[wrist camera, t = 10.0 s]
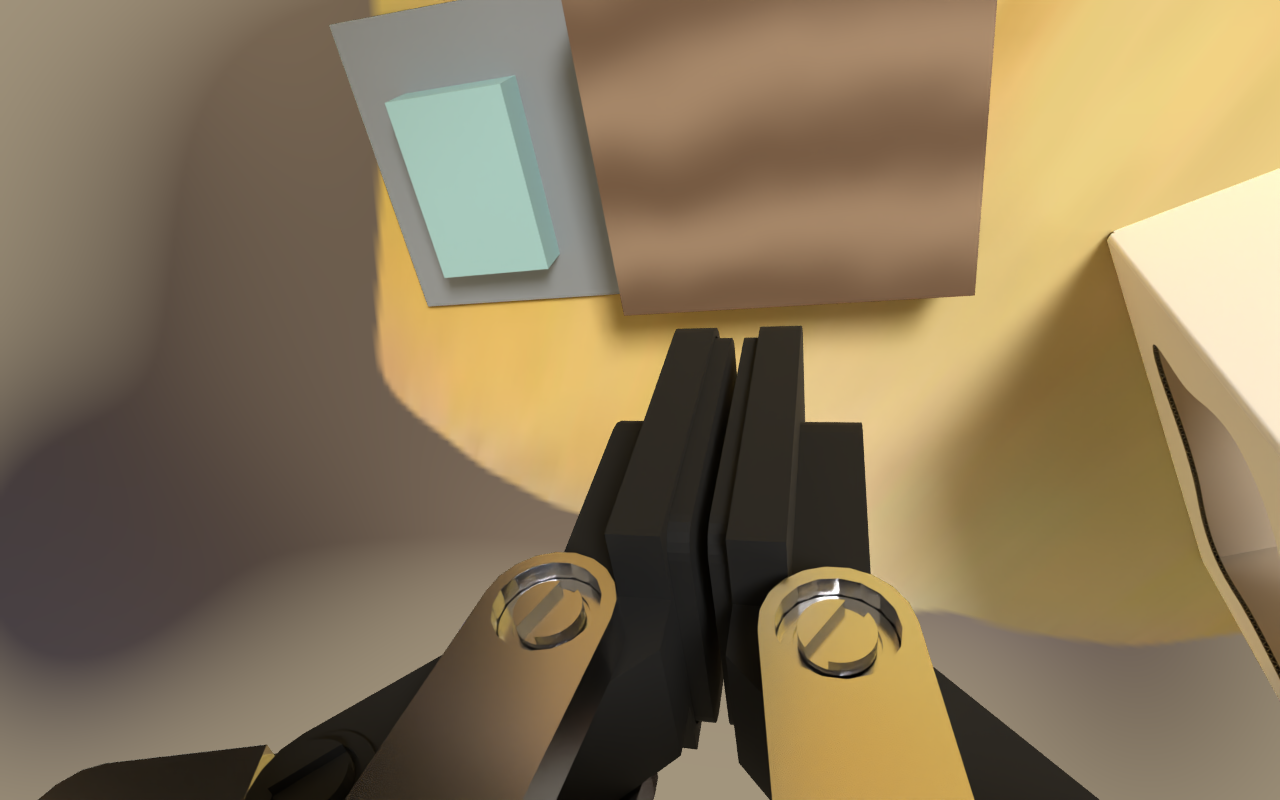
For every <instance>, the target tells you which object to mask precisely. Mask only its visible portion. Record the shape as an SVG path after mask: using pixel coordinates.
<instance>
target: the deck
mask: <svg viewBox="0 0 1280 800" xmlns="http://www.w3.org/2000/svg"><path fill="white" fill-rule="evenodd" d="M561 2H562V7H563V12H564V17H565V22H566V27H567V32H568V37H569V42H570V47H571V52H572V57H573V62H574V67H575V72H576V77H577V82H578V87H579V92H580V97H581V102H582V107H583V112H584V117H585V122H586V127H587V132H588V137H589V142H590V147H591V152H592V157H593V162H594V167H595V172H596V177H597V182H598V187H599V192H600V197H601V202H602V207H603V212H604V217H605V222H606V227H607V232H608V237H609V242H610V247H611V252H612V257H613V262H614V267H615V272H616V277H617V282H618V287H619V292H620V297H621V302H622V307H623V312H624V316H625V315H642V314H659V313H677V312H694V311H712V310H729V309H747V308H764V307H782V306H799V305H816V304H834V303H851V302H869V301H886V300H904V299H921V298H938V297H956V296H973V295H975V284H976V271H977V258H978V245H979V231H980V218H981V205H982V192H983V179H984V166H985V153H986V140H987V127H988V113H989V100H990V87H991V74H992V61H993V48H994V35H995V22H996V8H997V0H561Z"/></svg>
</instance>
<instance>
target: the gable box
mask: <svg viewBox="0 0 1280 800" xmlns="http://www.w3.org/2000/svg"><path fill="white" fill-rule="evenodd" d="M1107 242H1108V246H1109V249H1110V253H1111V256H1112V259H1113V263H1114V266H1115V269H1116V273H1117V276H1118V279H1119V283H1120V286H1121V289H1122V293H1123V296H1124V300H1125V303H1126V306H1127V310H1128V313H1129V316H1130V320H1131V323H1132V326H1133V330H1134V333H1135V337H1136V340H1137V343H1138V347H1139V350H1140V353H1141V357H1142V360H1143V363H1144V367H1145V370H1146V374H1147V377H1148V380H1149V384H1150V387H1151V390H1152V394H1153V397H1154V400H1155V404H1156V407H1157V411H1158V414H1159V417H1160V421H1161V424H1162V427H1163V431H1164V434H1165V437H1166V441H1167V444H1168V448H1169V451H1170V454H1171V458H1172V461H1173V464H1174V468H1175V471H1176V474H1177V478H1178V481H1179V484H1180V488H1181V491H1182V495H1183V498H1184V501H1185V505H1186V508H1187V511H1188V515H1189V518H1190V521H1191V525H1192V528H1193V532H1194V535H1195V538H1196V542H1197V545H1198V548H1199V552H1200V555H1201V558H1202V561H1203V563H1204V565H1205V567H1206V568H1207V570H1208V572H1209V574H1210V576H1211V578H1212V579H1213V581H1214V583H1215V585H1216V587H1217V588H1218V590H1219V592H1220V594H1221V596H1222V597H1223V599H1224V601H1225V603H1226V605H1227V606H1228V608H1229V610H1230V612H1231V614H1232V616H1233V617H1234V619H1235V621H1236V623H1237V625H1238V626H1239V628H1240V630H1241V632H1242V634H1243V635H1244V637H1245V639H1246V641H1247V643H1248V644H1249V646H1250V648H1251V650H1252V652H1253V654H1254V655H1255V657H1256V659H1257V660H1258V663H1259V664H1260V666H1261V668H1262V670H1263V672H1264V673H1265V675H1266V677H1267V679H1268V680H1269V682H1270V684H1271V686H1272V688H1273V690H1274V692H1275V693H1276V695H1277V697H1278V699H1279V701H1280V168H1279V169H1276V170H1274V171H1271V172H1268V173H1266V174H1263V175H1261V176H1258V177H1255V178H1253V179H1250V180H1247V181H1245V182H1242V183H1239V184H1237V185H1234V186H1231V187H1229V188H1226V189H1223V190H1221V191H1218V192H1215V193H1213V194H1210V195H1208V196H1205V197H1202V198H1200V199H1197V200H1194V201H1192V202H1189V203H1186V204H1184V205H1181V206H1178V207H1176V208H1173V209H1170V210H1168V211H1165V212H1162V213H1160V214H1157V215H1154V216H1152V217H1149V218H1147V219H1144V220H1141V221H1139V222H1136V223H1133V224H1131V225H1128V226H1125V227H1123V228H1120V229H1117V230H1115V231H1113V233H1111V235H1110V236H1109V238H1108V239H1107Z"/></svg>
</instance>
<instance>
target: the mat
mask: <svg viewBox="0 0 1280 800" xmlns="http://www.w3.org/2000/svg"><path fill="white" fill-rule="evenodd" d="M329 26H330V29H331V32H332V35H333V38H334V41H335V43H336V46H337V49H338V52H339V55H340V58H341V60H342V63H343V66H344V69H345V72H346V75H347V78H348V80H349V83H350V86H351V89H352V91H353V94H354V97H355V100H356V103H357V106H358V109H359V112H360V114H361V117H362V120H363V123H364V125H365V128H366V132H367V134H368V137H369V140H370V143H371V146H372V149H373V151H374V154H375V157H376V160H377V163H378V166H379V168H380V171H381V174H382V177H383V180H384V183H385V185H386V188H387V191H388V194H389V197H390V200H391V202H392V205H393V208H394V211H395V214H396V217H397V219H398V222H399V225H400V228H401V231H402V234H403V236H404V239H405V242H406V245H407V248H408V251H409V253H410V256H411V259H412V262H413V265H414V268H415V270H416V273H417V276H418V279H419V282H420V285H421V287H422V290H423V293H424V296H425V299H426V302H427V304H428V306H443V305H458V304H473V303H488V302H504V301H519V300H534V299H549V298H564V297H580V296H595V295H610V294H620V292H619V287H618V282H617V277H616V272H615V267H614V262H613V257H612V252H611V247H610V242H609V237H608V232H607V227H606V222H605V217H604V212H603V207H602V202H601V197H600V192H599V187H598V182H597V177H596V172H595V167H594V162H593V157H592V152H591V147H590V142H589V137H588V132H587V127H586V122H585V117H584V112H583V107H582V102H581V97H580V92H579V87H578V82H577V77H576V72H575V67H574V62H573V57H572V52H571V47H570V42H569V37H568V32H567V27H566V22H565V17H564V12H563V7H562V2H561V0H457V1H452V2H447V3H441V4H436V5H431V6H426V7H420V8H415V9H410V10H404V11H399V12H394V13H389V14H383V15H378V16H373V17H368V18H362V19H357V20H352V21H346V22H341V23H336V24H331V25H329ZM513 75H515V76H516V80H517V84H518V88H519V92H520V96H521V100H522V104H523V108H524V112H525V116H526V120H527V124H528V128H529V132H530V136H531V140H532V144H533V148H534V152H535V156H536V160H537V164H538V168H539V172H540V176H541V180H542V184H543V188H544V192H545V196H546V200H547V204H548V208H549V212H550V216H551V220H552V224H553V228H554V232H555V236H556V240H557V244H558V248H559V252H560V254H559V256H558V257H557V258H556V259H555V261H554V262H553V263H552V265H551V266H550V267H549V269H542V270H530V271H519V272H507V273H496V274H485V275H473V276H462V277H451V278H444V275H443V272H442V269H441V266H440V263H439V260H438V257H437V254H436V251H435V248H434V246H433V243H432V240H431V237H430V234H429V231H428V228H427V225H426V222H425V219H424V216H423V213H422V211H421V208H420V205H419V202H418V199H417V196H416V193H415V190H414V187H413V184H412V181H411V178H410V176H409V173H408V170H407V167H406V164H405V161H404V158H403V155H402V152H401V149H400V146H399V143H398V140H397V138H396V135H395V132H394V129H393V126H392V123H391V120H390V117H389V114H388V111H387V108H386V105H385V102H388V101H390V100H392V99H394V98H396V97H399V96H401V95H403V94H406V93H412V92H418V91H424V90H430V89H436V88H442V87H448V86H454V85H460V84H466V83H472V82H478V81H484V80H490V79H496V78H502V77H507V76H513Z"/></svg>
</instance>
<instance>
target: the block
mask: <svg viewBox="0 0 1280 800" xmlns="http://www.w3.org/2000/svg"><path fill="white" fill-rule="evenodd" d="M385 105H386V108H387V111H388V114H389V117H390V120H391V123H392V126H393V129H394V132H395V135H396V138H397V140H398V143H399V146H400V149H401V152H402V155H403V158H404V161H405V164H406V167H407V170H408V173H409V176H410V178H411V181H412V184H413V187H414V190H415V193H416V196H417V199H418V202H419V205H420V208H421V211H422V213H423V216H424V219H425V222H426V225H427V228H428V231H429V234H430V237H431V240H432V243H433V246H434V248H435V251H436V254H437V257H438V260H439V263H440V266H441V269H442V272H443V275H444V278H451V277H462V276H473V275H485V274H496V273H507V272H519V271H530V270H542V269H549V267H550V266H551V265H552V263H553V262H554V261H555V259H556V258H557V257H558V256H559V254H560V252H559V248H558V244H557V240H556V236H555V232H554V228H553V224H552V220H551V216H550V212H549V208H548V204H547V200H546V196H545V192H544V188H543V184H542V180H541V176H540V172H539V168H538V164H537V160H536V156H535V152H534V148H533V144H532V140H531V136H530V132H529V128H528V124H527V120H526V116H525V112H524V108H523V104H522V100H521V96H520V92H519V88H518V84H517V80H516V76H515V75H513V76H507V77H502V78H496V79H490V80H484V81H478V82H472V83H466V84H460V85H454V86H448V87H442V88H436V89H430V90H424V91H418V92H412V93H406V94H403V95H401V96H399V97H396V98H394V99H392V100H390V101H388V102H385Z"/></svg>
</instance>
